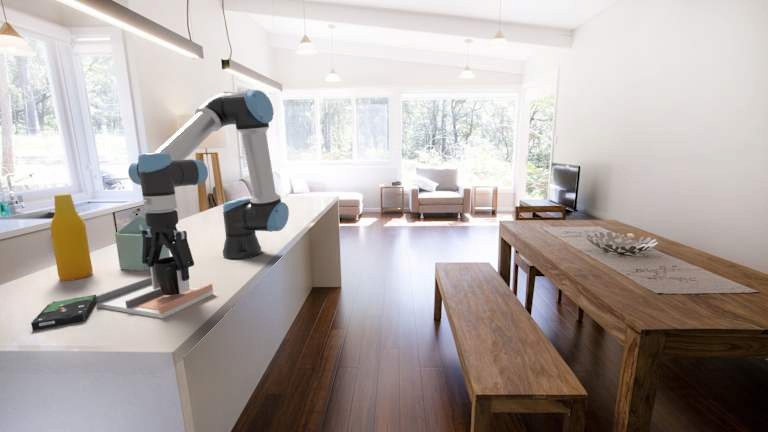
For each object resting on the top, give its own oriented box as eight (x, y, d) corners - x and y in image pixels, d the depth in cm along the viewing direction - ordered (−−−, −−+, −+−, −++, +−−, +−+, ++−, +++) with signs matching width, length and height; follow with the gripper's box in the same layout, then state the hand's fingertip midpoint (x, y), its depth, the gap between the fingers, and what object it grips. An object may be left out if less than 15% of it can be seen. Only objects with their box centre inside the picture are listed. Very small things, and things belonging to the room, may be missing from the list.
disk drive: (86, 323, 92) (98, 302, 105) (85, 313, 92) (96, 293, 104) (32, 333, 87) (51, 310, 100) (30, 323, 87) (49, 301, 99)
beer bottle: (82, 271, 133) (69, 193, 129) (99, 273, 130) (86, 193, 126) (52, 279, 125) (37, 196, 120) (70, 282, 122) (55, 196, 117)
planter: (116, 274, 129) (108, 220, 125) (120, 268, 136) (112, 217, 132) (169, 267, 136) (162, 215, 133) (170, 262, 143) (164, 213, 140)
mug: (152, 304, 95) (147, 269, 93) (160, 289, 106) (156, 257, 104) (187, 299, 98) (183, 265, 96) (192, 284, 109) (188, 254, 107)
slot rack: (153, 286, 116) (152, 276, 116) (213, 294, 108) (212, 284, 108) (96, 307, 100) (95, 296, 100) (162, 318, 92) (160, 306, 92)
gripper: (118, 211, 98) (130, 290, 102) (179, 214, 91) (189, 298, 95) (144, 207, 105) (154, 281, 109) (203, 209, 98) (212, 288, 102)
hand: (171, 289), depth 102 cm, fingers closed on mug, 9 cm apart
